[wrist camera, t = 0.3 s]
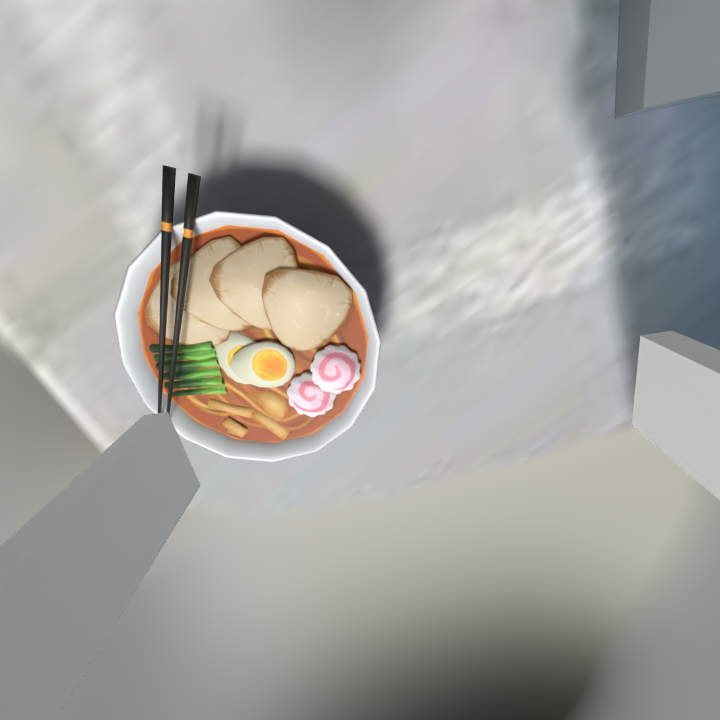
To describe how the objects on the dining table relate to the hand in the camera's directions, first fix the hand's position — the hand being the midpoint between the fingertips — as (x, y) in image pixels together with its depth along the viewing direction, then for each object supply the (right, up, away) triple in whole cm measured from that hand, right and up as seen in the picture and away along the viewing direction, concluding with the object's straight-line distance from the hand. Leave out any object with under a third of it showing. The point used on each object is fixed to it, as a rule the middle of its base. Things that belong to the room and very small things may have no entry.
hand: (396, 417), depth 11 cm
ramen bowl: (-10, +5, +28) cm, 31 cm away
